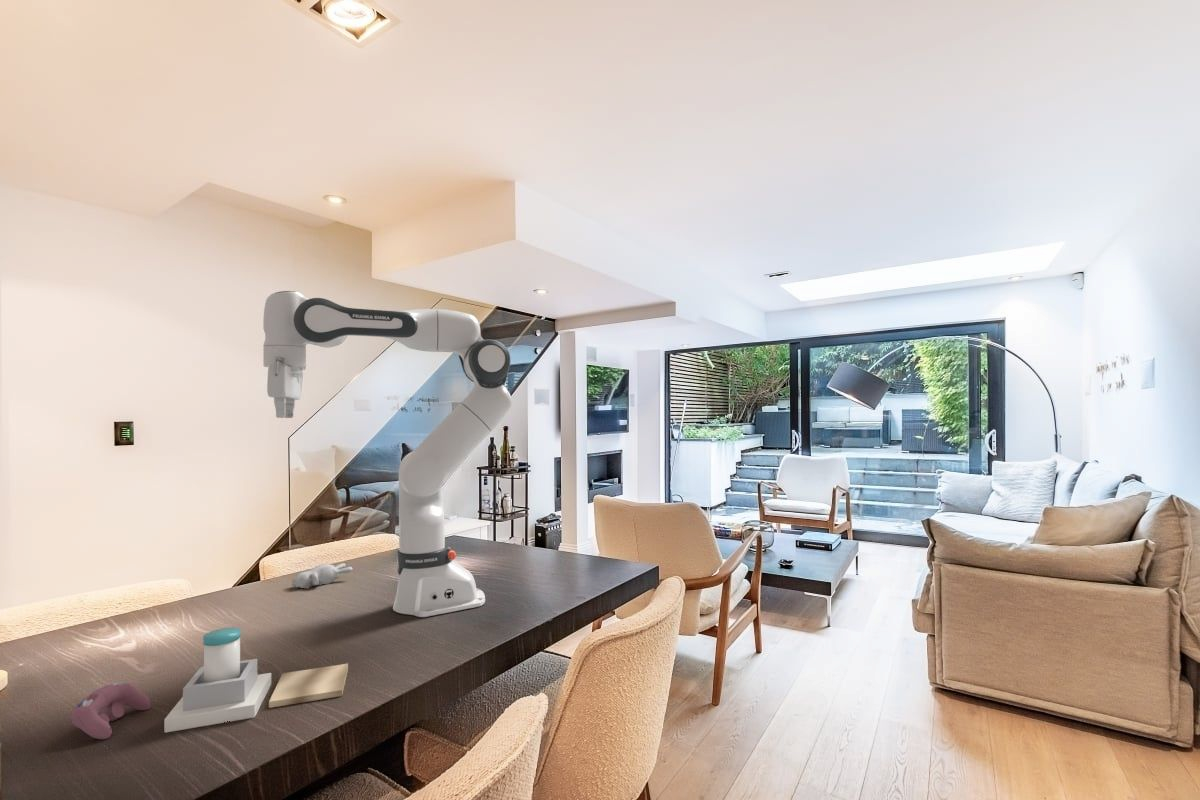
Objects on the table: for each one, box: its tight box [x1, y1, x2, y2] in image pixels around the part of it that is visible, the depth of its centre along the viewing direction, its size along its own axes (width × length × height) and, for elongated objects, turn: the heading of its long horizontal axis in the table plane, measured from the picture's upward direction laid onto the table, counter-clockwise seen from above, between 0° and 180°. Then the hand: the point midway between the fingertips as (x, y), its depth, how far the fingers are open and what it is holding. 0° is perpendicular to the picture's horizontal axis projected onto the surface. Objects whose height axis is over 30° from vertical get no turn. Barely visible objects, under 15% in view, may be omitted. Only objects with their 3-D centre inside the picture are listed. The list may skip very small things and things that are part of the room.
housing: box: [163, 658, 272, 733], centre depth 93 cm, size 12×12×6 cm
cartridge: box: [202, 627, 242, 683], centre depth 93 cm, size 5×5×10 cm
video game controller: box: [70, 680, 152, 740], centre depth 88 cm, size 10×5×7 cm, turn 5°
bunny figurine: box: [291, 562, 354, 589], centre depth 163 cm, size 10×5×15 cm
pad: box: [268, 663, 349, 709], centre depth 99 cm, size 11×11×1 cm
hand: (285, 417), depth 133 cm, fingers open, 8 cm apart
